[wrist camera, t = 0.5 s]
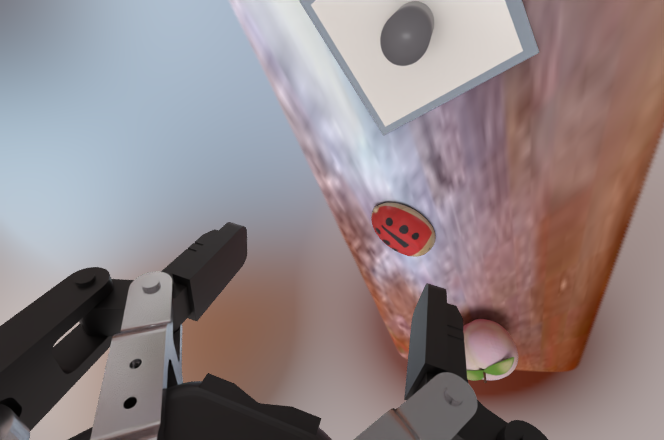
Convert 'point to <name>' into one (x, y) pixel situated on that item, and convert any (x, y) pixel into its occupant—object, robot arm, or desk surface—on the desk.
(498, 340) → the decorative fruit
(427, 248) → the ladybug figurine
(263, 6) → the desk surface
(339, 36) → the lid
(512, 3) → the mat
